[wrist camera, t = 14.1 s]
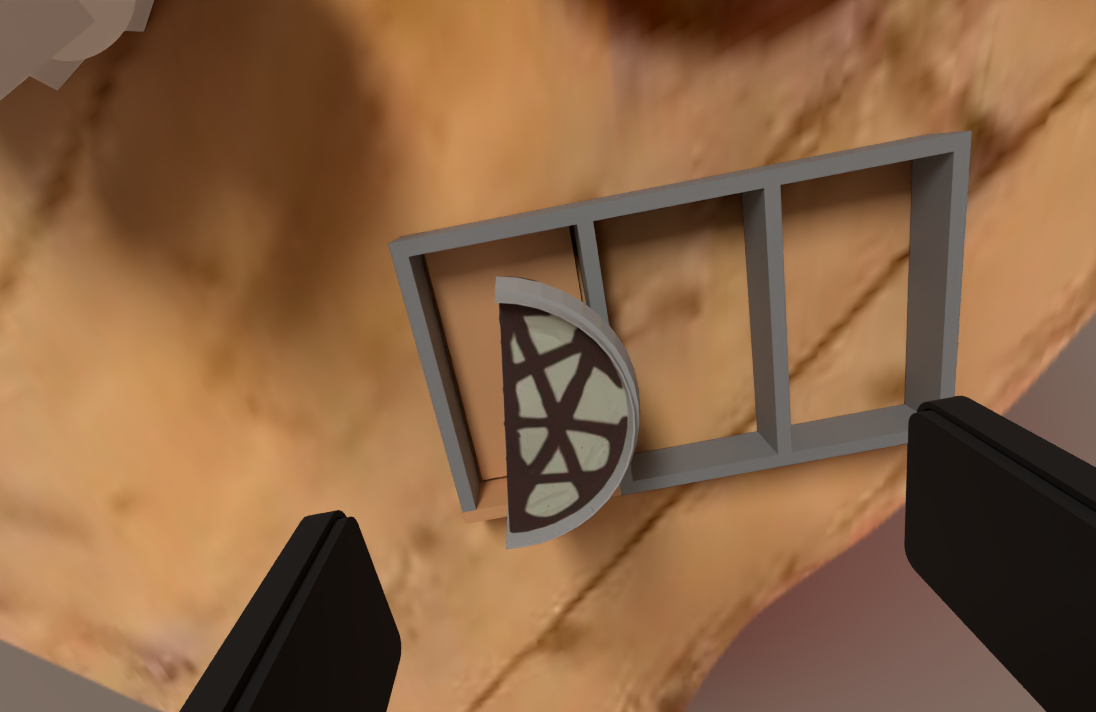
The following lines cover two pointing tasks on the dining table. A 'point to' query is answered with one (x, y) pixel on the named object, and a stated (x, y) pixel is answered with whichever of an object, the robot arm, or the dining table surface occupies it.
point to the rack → (932, 323)
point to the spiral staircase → (60, 36)
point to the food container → (561, 410)
